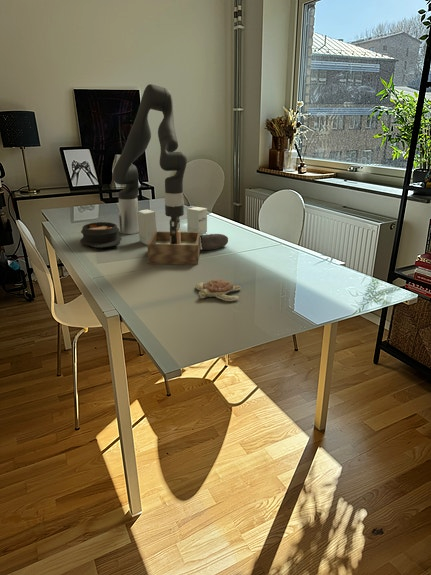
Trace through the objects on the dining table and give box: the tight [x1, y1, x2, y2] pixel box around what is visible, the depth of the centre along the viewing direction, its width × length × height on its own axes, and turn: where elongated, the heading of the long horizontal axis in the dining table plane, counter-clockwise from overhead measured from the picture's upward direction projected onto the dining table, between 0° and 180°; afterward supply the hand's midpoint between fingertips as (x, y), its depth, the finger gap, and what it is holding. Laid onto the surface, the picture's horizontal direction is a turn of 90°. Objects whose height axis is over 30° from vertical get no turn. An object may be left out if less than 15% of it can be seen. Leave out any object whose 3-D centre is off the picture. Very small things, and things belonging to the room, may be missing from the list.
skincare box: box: [137, 208, 158, 246], centre depth 194 cm, size 8×6×15 cm
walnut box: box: [146, 230, 201, 265], centre depth 176 cm, size 20×20×8 cm
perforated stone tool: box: [200, 233, 229, 251], centre depth 188 cm, size 15×5×7 cm, turn 120°
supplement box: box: [186, 206, 208, 235], centre depth 211 cm, size 7×7×13 cm
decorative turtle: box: [195, 279, 242, 302], centre depth 141 cm, size 18×17×5 cm
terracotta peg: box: [170, 229, 181, 244], centre depth 176 cm, size 4×4×10 cm
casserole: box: [80, 221, 123, 249], centre depth 193 cm, size 25×19×8 cm
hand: (175, 242), depth 176 cm, fingers open, 8 cm apart
